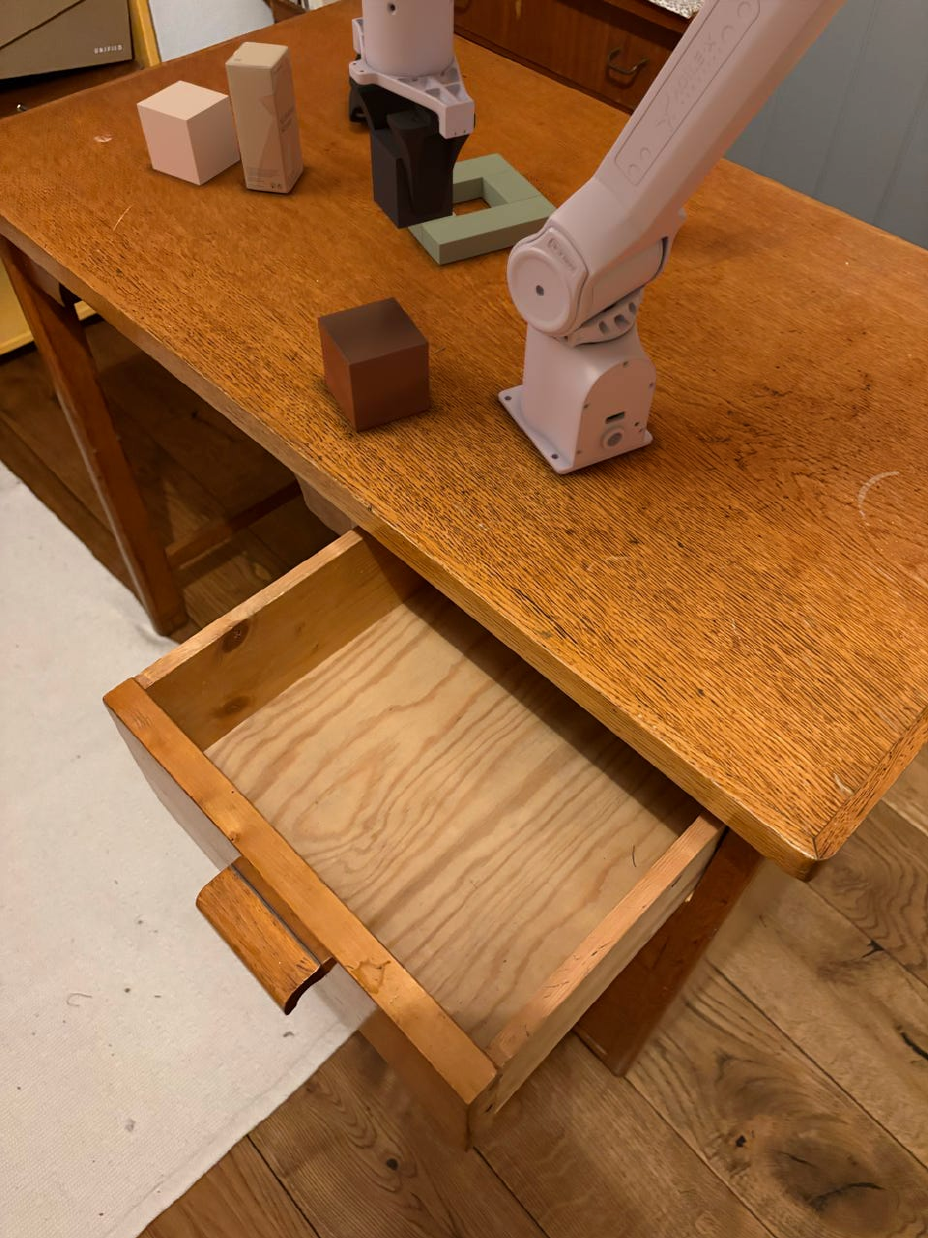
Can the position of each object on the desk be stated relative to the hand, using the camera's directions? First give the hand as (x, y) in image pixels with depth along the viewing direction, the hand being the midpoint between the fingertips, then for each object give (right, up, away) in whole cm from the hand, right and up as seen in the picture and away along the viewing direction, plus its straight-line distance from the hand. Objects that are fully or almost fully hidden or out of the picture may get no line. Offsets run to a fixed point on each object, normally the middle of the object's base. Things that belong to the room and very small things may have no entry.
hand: (412, 195), depth 66 cm
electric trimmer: (-7, +25, +32) cm, 42 cm away
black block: (0, -1, +1) cm, 1 cm away
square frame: (+4, +6, +18) cm, 20 cm away
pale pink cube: (-23, +14, +23) cm, 35 cm away
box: (-15, +12, +22) cm, 29 cm away
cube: (-3, -14, +2) cm, 15 cm away
